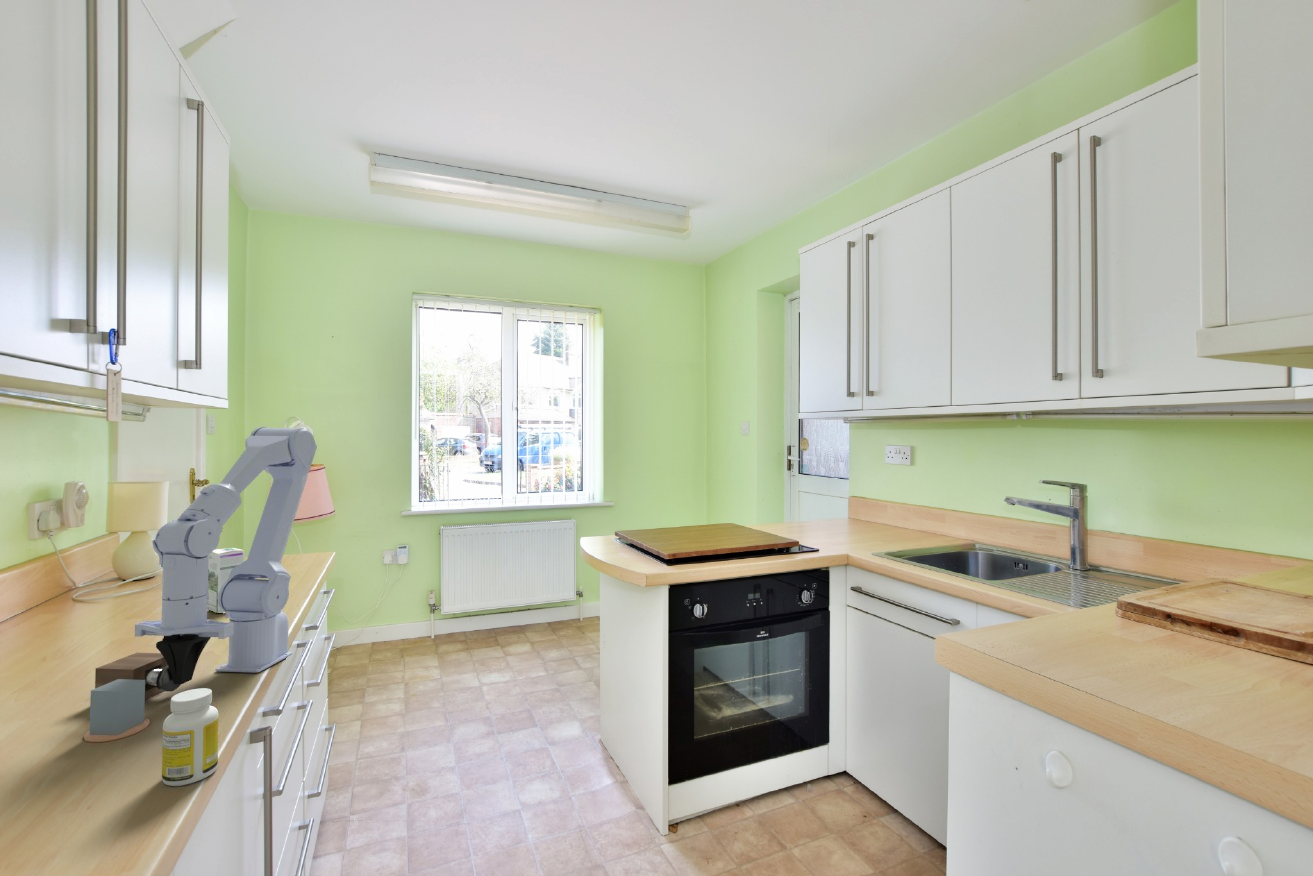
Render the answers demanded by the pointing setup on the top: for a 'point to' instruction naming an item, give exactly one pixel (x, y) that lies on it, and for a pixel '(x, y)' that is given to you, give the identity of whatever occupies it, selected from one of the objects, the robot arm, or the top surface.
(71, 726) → the top surface
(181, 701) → the supplement bottle
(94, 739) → the plate
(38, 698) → the top surface
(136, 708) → the block
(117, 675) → the rod housing
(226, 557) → the syrup box
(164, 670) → the rod
